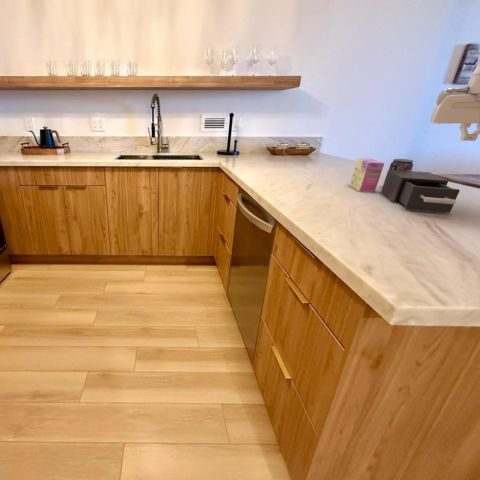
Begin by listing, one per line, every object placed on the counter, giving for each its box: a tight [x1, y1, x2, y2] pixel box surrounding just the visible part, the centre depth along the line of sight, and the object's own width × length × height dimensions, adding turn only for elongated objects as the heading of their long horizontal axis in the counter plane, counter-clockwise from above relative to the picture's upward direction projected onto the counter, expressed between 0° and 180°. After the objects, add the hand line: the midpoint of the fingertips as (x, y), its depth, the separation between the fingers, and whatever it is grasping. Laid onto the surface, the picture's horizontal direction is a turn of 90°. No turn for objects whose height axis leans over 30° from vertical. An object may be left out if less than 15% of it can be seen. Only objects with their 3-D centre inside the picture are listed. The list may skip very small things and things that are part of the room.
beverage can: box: [388, 158, 414, 171], centre depth 115 cm, size 7×7×12 cm
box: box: [348, 157, 385, 193], centre depth 116 cm, size 10×6×12 cm, turn 168°
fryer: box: [380, 169, 449, 204], centre depth 103 cm, size 15×13×9 cm
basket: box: [397, 180, 461, 214], centre depth 93 cm, size 18×11×7 cm, turn 159°
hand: (467, 140), depth 83 cm, fingers closed
